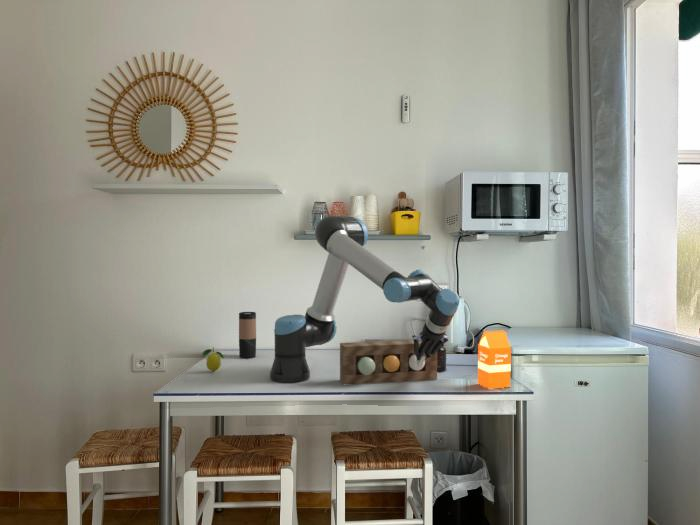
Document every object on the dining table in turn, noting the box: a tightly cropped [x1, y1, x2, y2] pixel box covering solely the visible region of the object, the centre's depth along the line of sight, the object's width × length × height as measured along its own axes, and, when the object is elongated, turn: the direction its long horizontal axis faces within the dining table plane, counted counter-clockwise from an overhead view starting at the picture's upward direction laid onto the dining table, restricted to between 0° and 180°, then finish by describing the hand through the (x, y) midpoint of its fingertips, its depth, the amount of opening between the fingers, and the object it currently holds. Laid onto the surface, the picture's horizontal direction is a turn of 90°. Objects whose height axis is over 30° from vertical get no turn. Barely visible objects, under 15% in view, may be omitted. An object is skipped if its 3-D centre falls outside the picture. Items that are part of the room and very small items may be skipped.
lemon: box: [201, 346, 225, 373], centre depth 204 cm, size 7×6×10 cm
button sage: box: [357, 357, 375, 375], centre depth 186 cm, size 6×3×6 cm, turn 103°
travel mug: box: [238, 311, 257, 360], centre depth 231 cm, size 8×8×20 cm
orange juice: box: [477, 330, 512, 390], centre depth 186 cm, size 8×9×20 cm
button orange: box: [382, 354, 400, 372], centre depth 191 cm, size 6×3×6 cm, turn 103°
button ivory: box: [408, 353, 425, 371], centre depth 193 cm, size 6×3×6 cm, turn 103°
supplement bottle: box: [437, 343, 447, 373], centre depth 209 cm, size 7×7×12 cm
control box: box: [339, 339, 438, 385], centre depth 193 cm, size 36×7×14 cm, turn 103°
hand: (418, 363), depth 190 cm, fingers closed
